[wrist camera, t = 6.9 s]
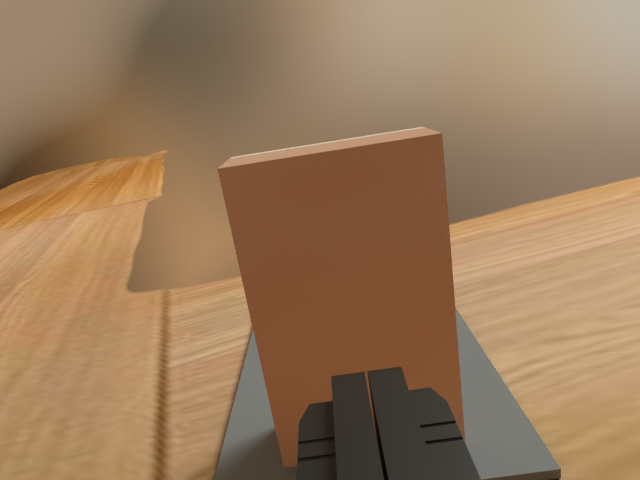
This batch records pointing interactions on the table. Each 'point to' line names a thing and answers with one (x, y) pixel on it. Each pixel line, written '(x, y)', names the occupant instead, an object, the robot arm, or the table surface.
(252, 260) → the peach rectangular block
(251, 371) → the mat
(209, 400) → the table surface
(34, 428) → the table surface
